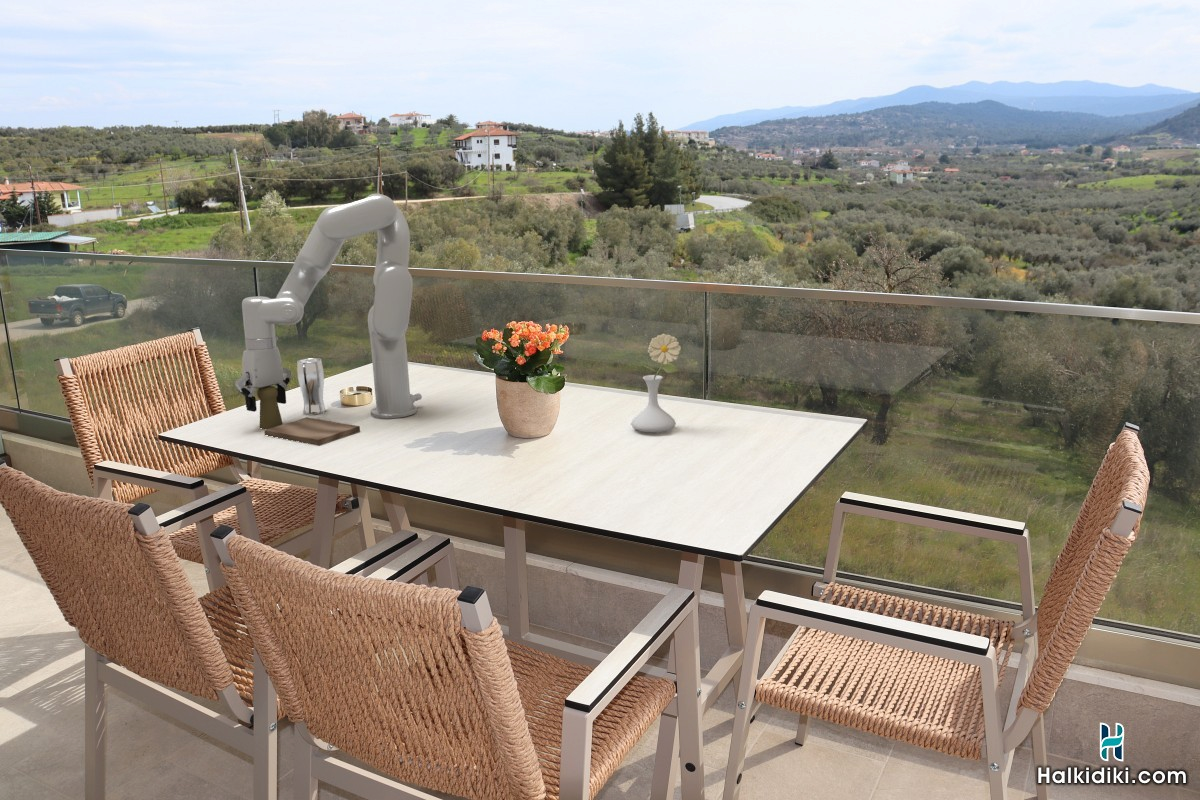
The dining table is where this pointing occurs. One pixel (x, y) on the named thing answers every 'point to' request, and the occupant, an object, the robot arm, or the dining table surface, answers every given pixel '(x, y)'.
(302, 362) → the beer glass
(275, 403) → the olive brown tapered piece
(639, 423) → the flower in vase
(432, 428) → the dining table surface
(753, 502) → the dining table surface
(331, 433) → the walnut board
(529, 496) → the dining table surface
